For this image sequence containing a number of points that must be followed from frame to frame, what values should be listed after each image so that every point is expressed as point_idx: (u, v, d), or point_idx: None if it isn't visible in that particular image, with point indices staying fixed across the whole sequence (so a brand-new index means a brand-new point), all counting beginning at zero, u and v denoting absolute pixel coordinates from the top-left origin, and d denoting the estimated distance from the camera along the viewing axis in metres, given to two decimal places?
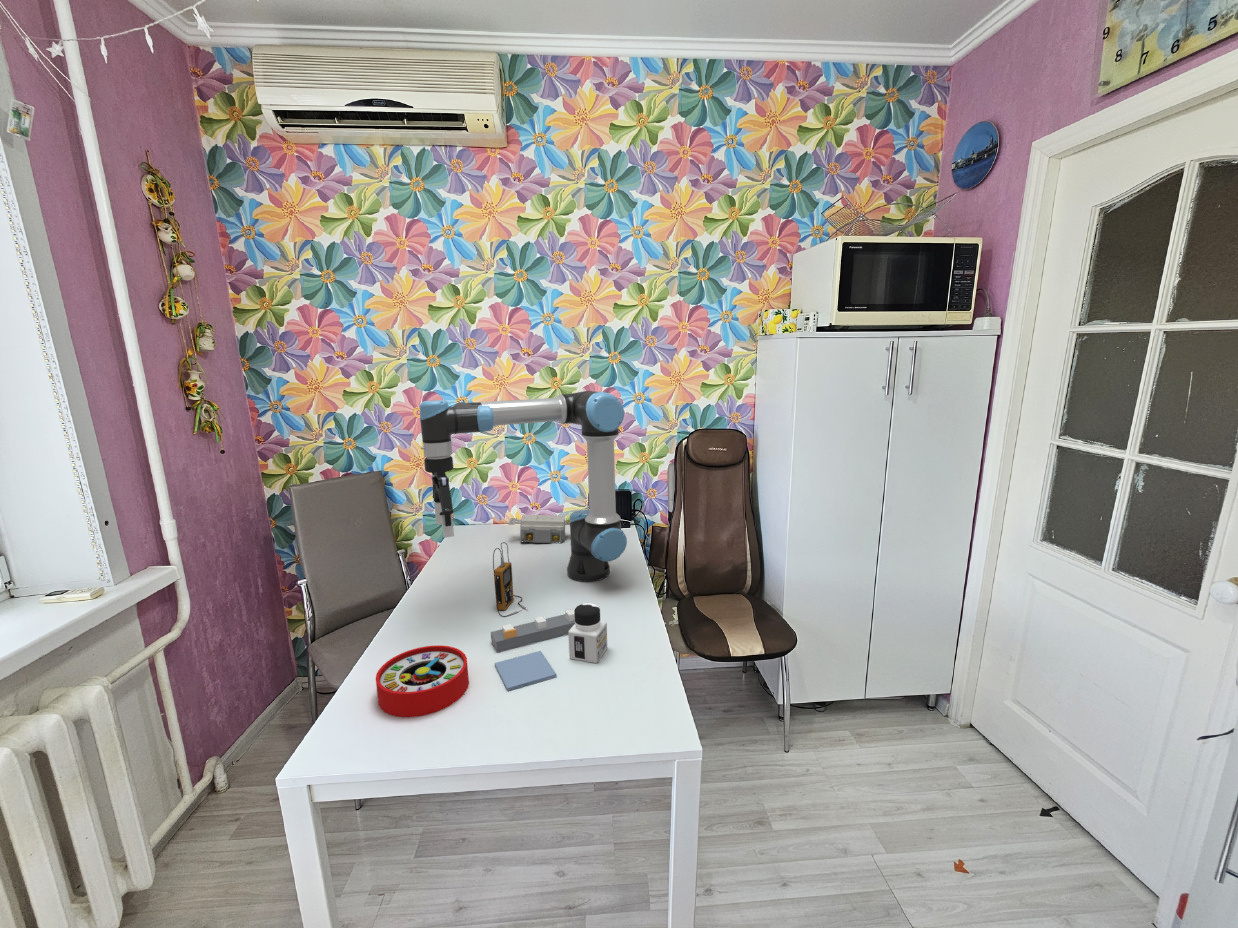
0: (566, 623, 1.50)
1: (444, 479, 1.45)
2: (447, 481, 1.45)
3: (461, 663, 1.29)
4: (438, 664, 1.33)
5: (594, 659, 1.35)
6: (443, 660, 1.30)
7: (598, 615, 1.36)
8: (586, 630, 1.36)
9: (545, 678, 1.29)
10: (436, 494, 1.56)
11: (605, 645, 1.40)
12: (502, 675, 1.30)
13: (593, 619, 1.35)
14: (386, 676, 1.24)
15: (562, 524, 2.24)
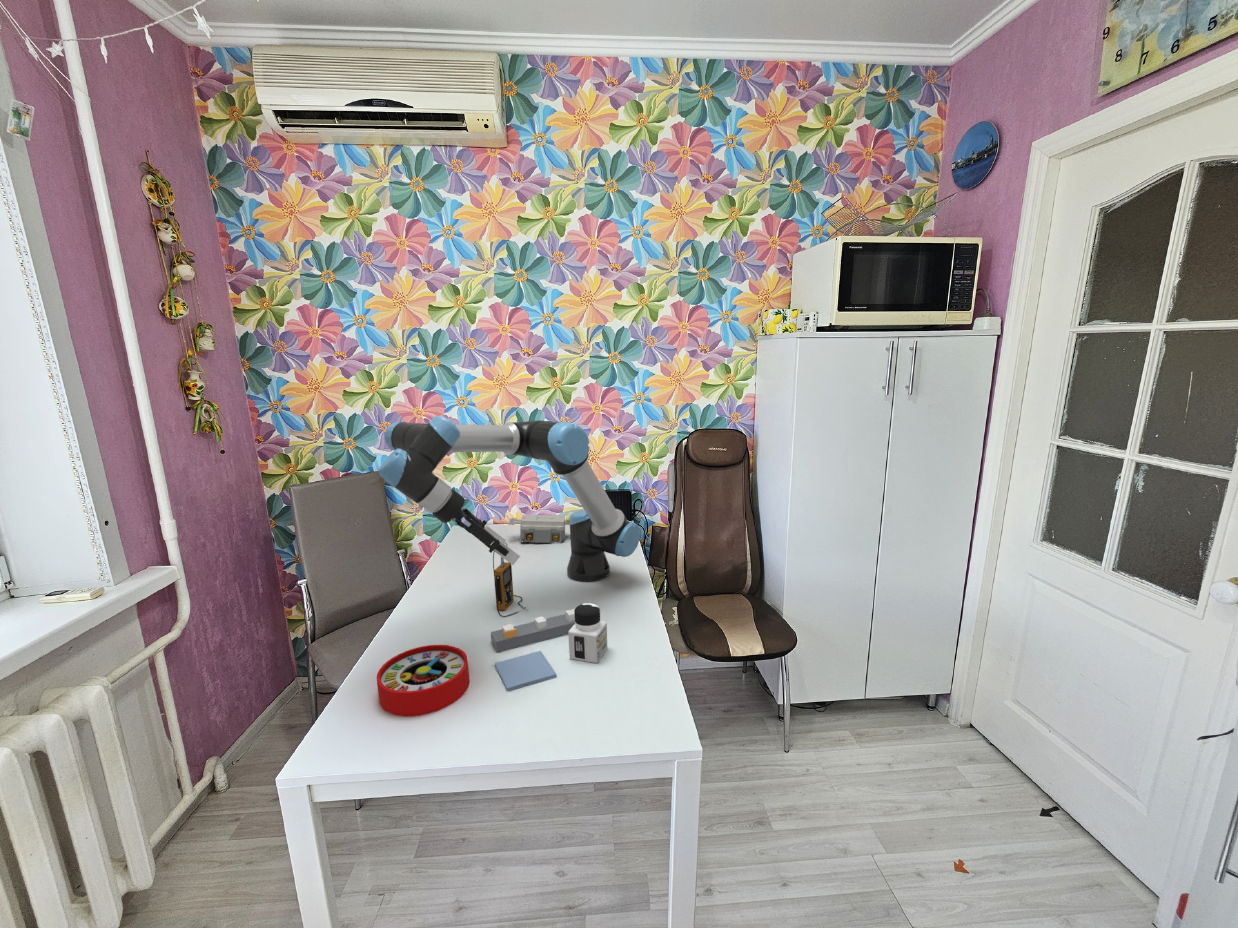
0: (566, 623, 1.50)
1: (465, 520, 1.23)
2: (469, 520, 1.23)
3: (462, 662, 1.29)
4: (439, 663, 1.34)
5: (594, 659, 1.35)
6: (444, 659, 1.31)
7: (598, 615, 1.36)
8: (586, 630, 1.36)
9: (545, 678, 1.29)
10: None
11: (605, 645, 1.40)
12: (502, 675, 1.30)
13: (593, 619, 1.35)
14: (387, 675, 1.24)
15: (562, 524, 2.24)
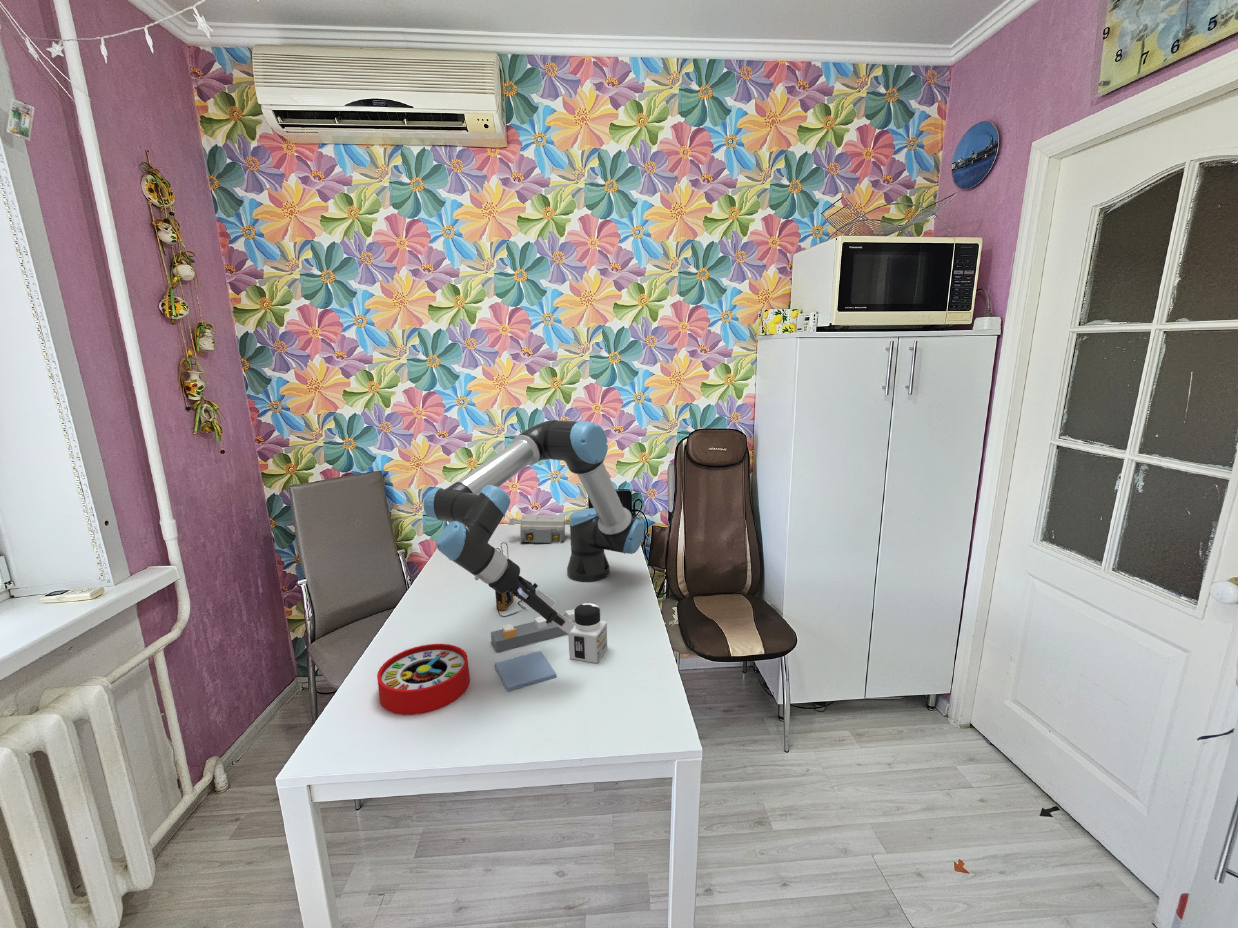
0: None
1: (522, 592, 1.21)
2: (526, 592, 1.21)
3: (462, 661, 1.30)
4: (439, 662, 1.34)
5: (594, 659, 1.35)
6: (444, 658, 1.31)
7: (598, 615, 1.36)
8: (586, 630, 1.36)
9: (545, 678, 1.29)
10: None
11: (605, 645, 1.40)
12: (502, 675, 1.30)
13: (593, 619, 1.35)
14: (387, 674, 1.25)
15: (562, 524, 2.24)
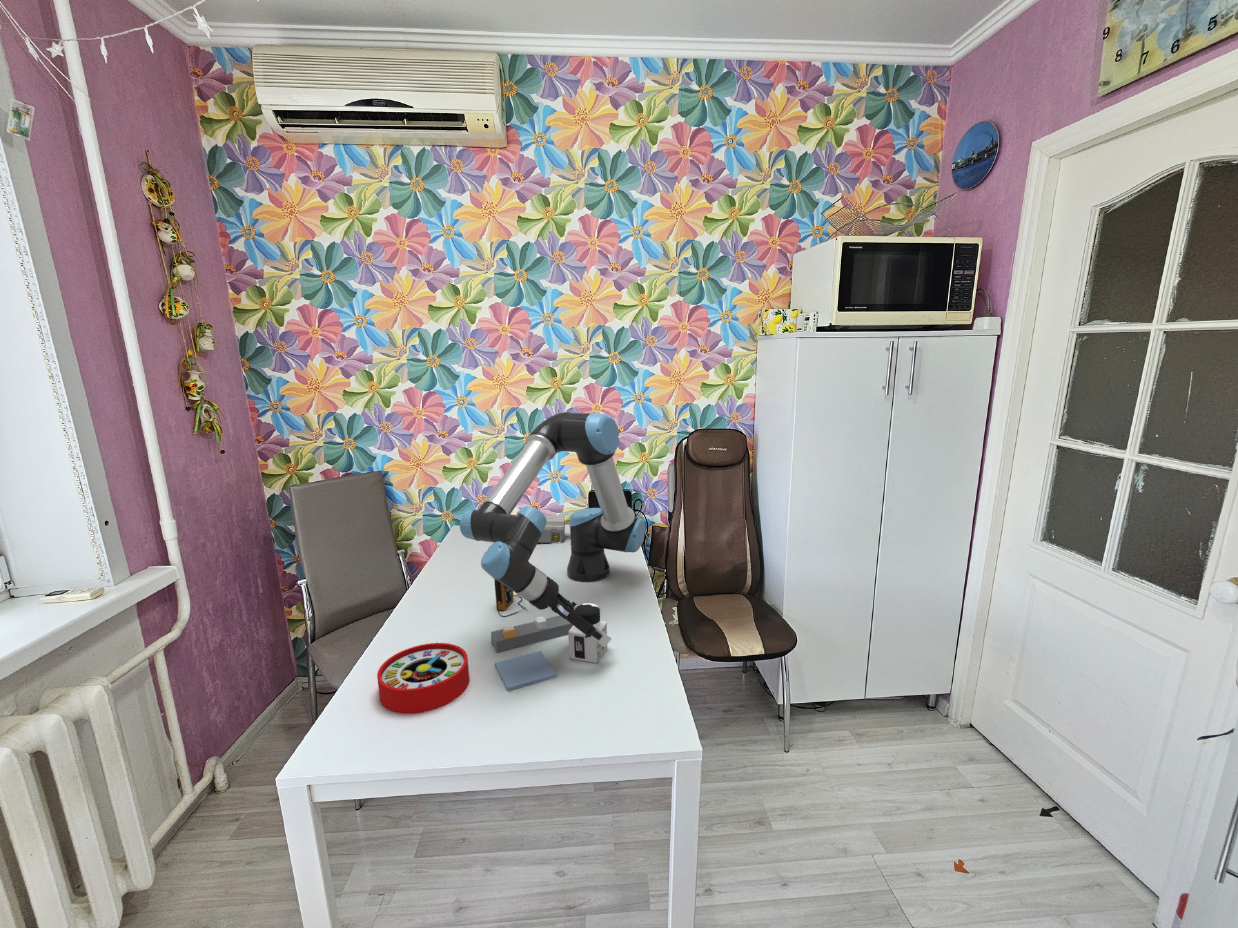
0: (566, 623, 1.50)
1: (564, 610, 1.27)
2: (568, 609, 1.27)
3: (462, 660, 1.30)
4: (439, 661, 1.35)
5: (594, 659, 1.35)
6: (444, 657, 1.32)
7: (598, 615, 1.36)
8: None
9: (545, 678, 1.29)
10: None
11: None
12: (502, 675, 1.30)
13: (593, 619, 1.35)
14: (387, 673, 1.25)
15: (562, 524, 2.24)
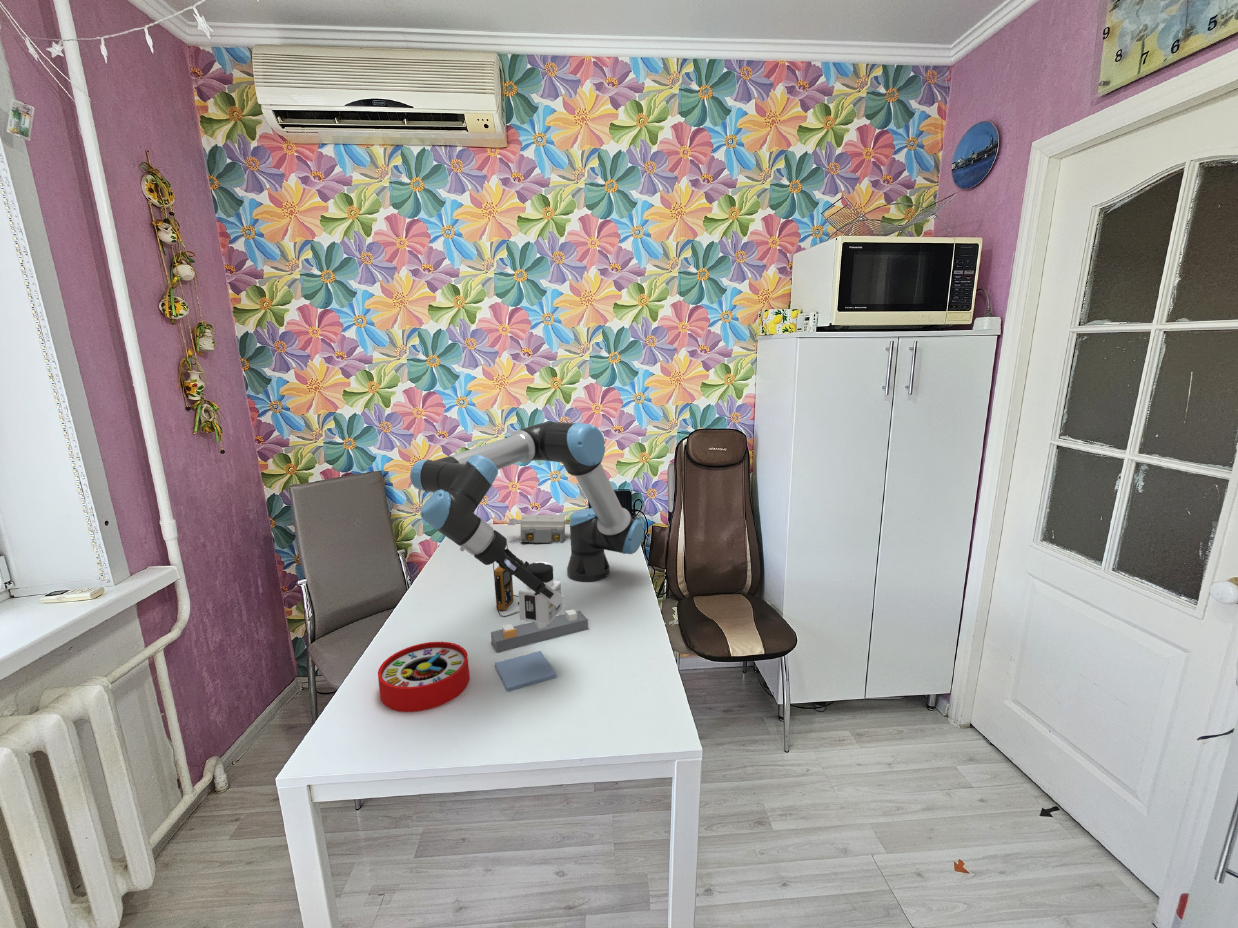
0: (566, 623, 1.50)
1: (511, 565, 1.19)
2: (515, 564, 1.19)
3: (462, 659, 1.31)
4: (439, 660, 1.35)
5: (546, 620, 1.27)
6: (444, 656, 1.32)
7: (550, 573, 1.28)
8: None
9: (545, 678, 1.29)
10: None
11: (559, 606, 1.32)
12: (502, 675, 1.30)
13: (544, 577, 1.27)
14: (388, 671, 1.26)
15: (562, 524, 2.25)
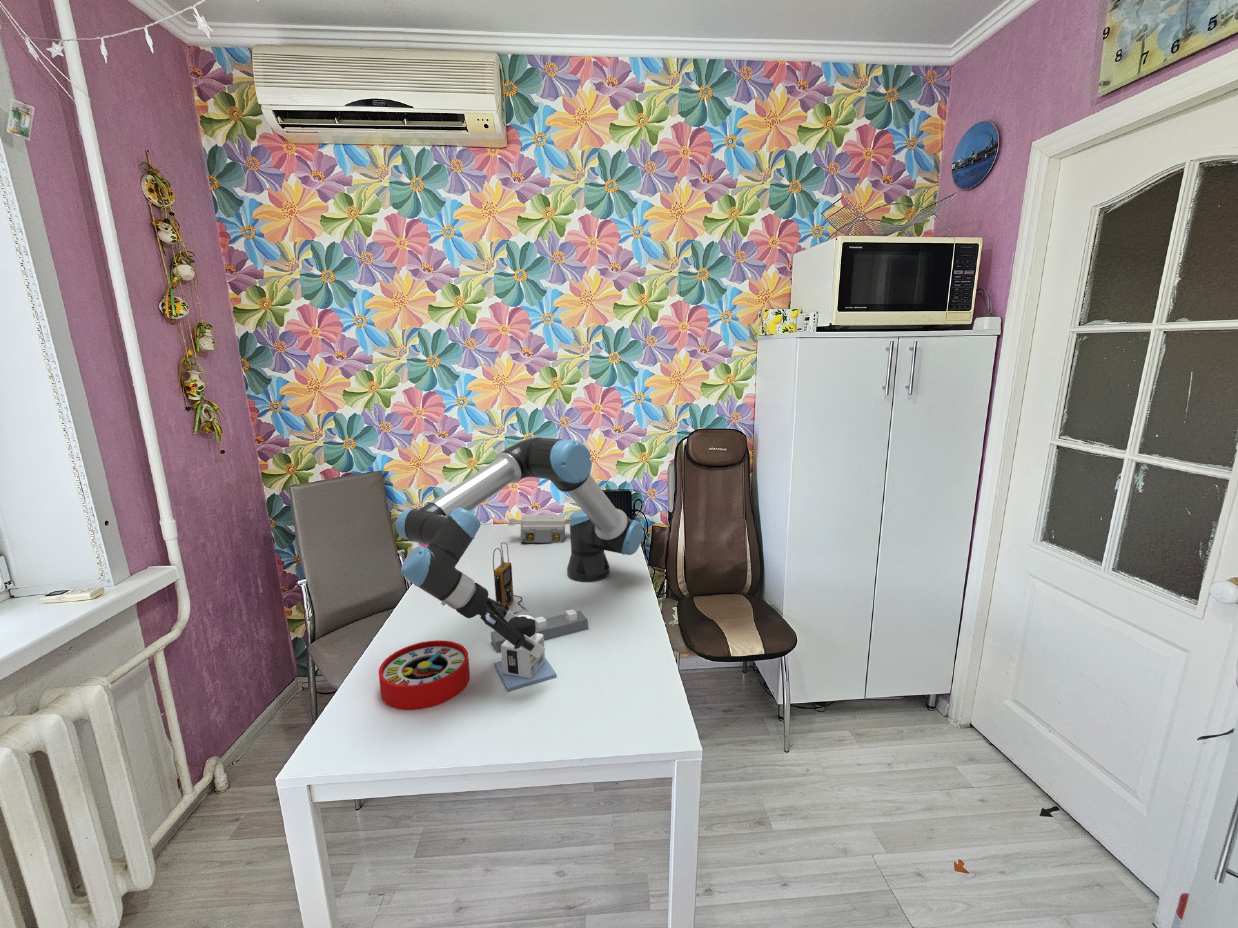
0: (566, 623, 1.50)
1: (490, 618, 1.19)
2: (494, 617, 1.19)
3: (462, 658, 1.31)
4: (440, 659, 1.36)
5: (528, 674, 1.28)
6: (445, 655, 1.33)
7: (532, 628, 1.29)
8: None
9: (545, 678, 1.29)
10: None
11: (542, 659, 1.33)
12: (502, 675, 1.30)
13: (526, 632, 1.28)
14: (389, 670, 1.26)
15: (563, 523, 2.25)
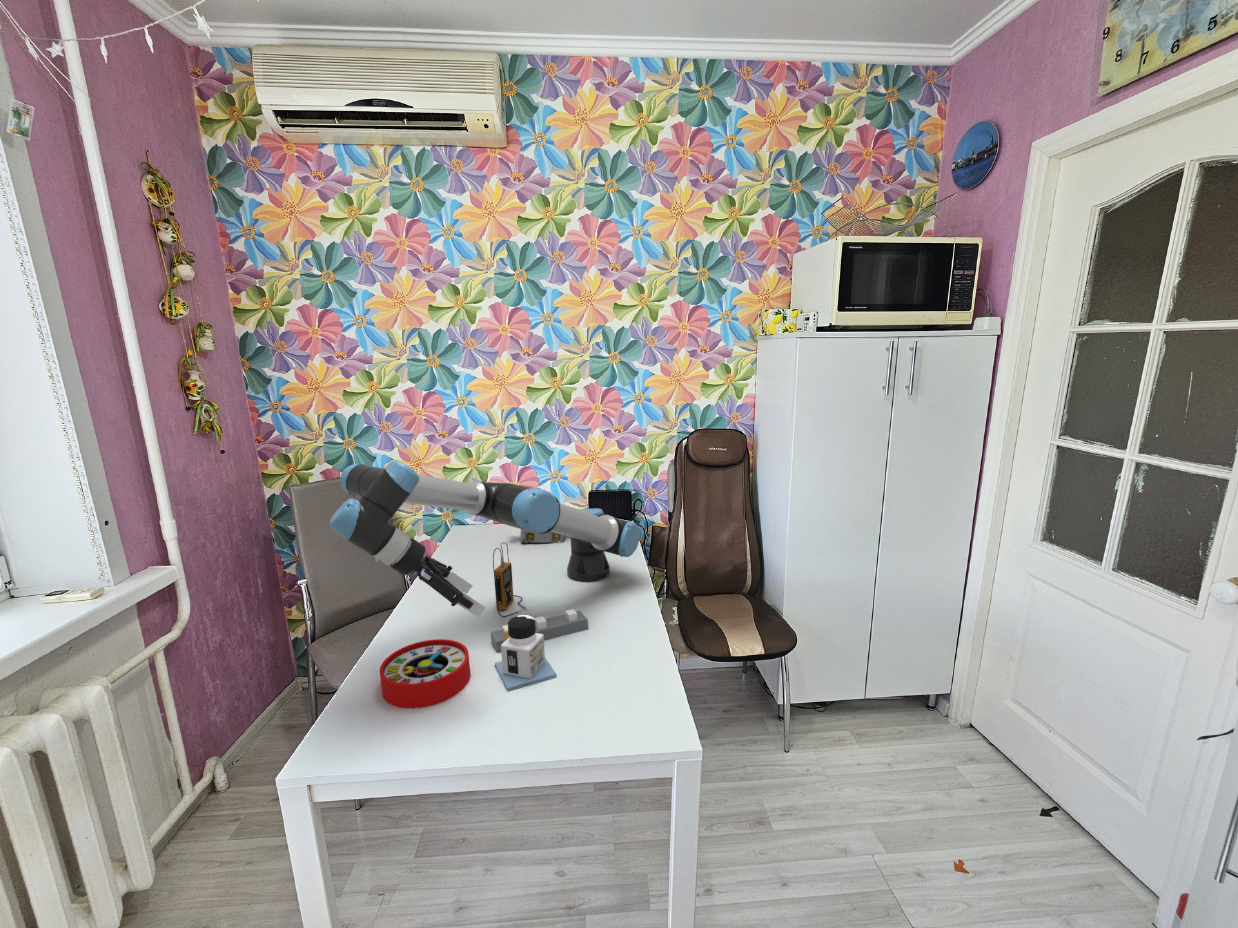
0: (566, 623, 1.50)
1: (424, 574, 1.15)
2: (429, 573, 1.15)
3: (463, 656, 1.32)
4: (440, 657, 1.36)
5: (528, 674, 1.28)
6: (445, 653, 1.33)
7: (532, 628, 1.29)
8: (519, 644, 1.28)
9: (545, 678, 1.29)
10: None
11: (542, 659, 1.33)
12: (502, 675, 1.30)
13: (526, 632, 1.28)
14: (390, 668, 1.27)
15: None
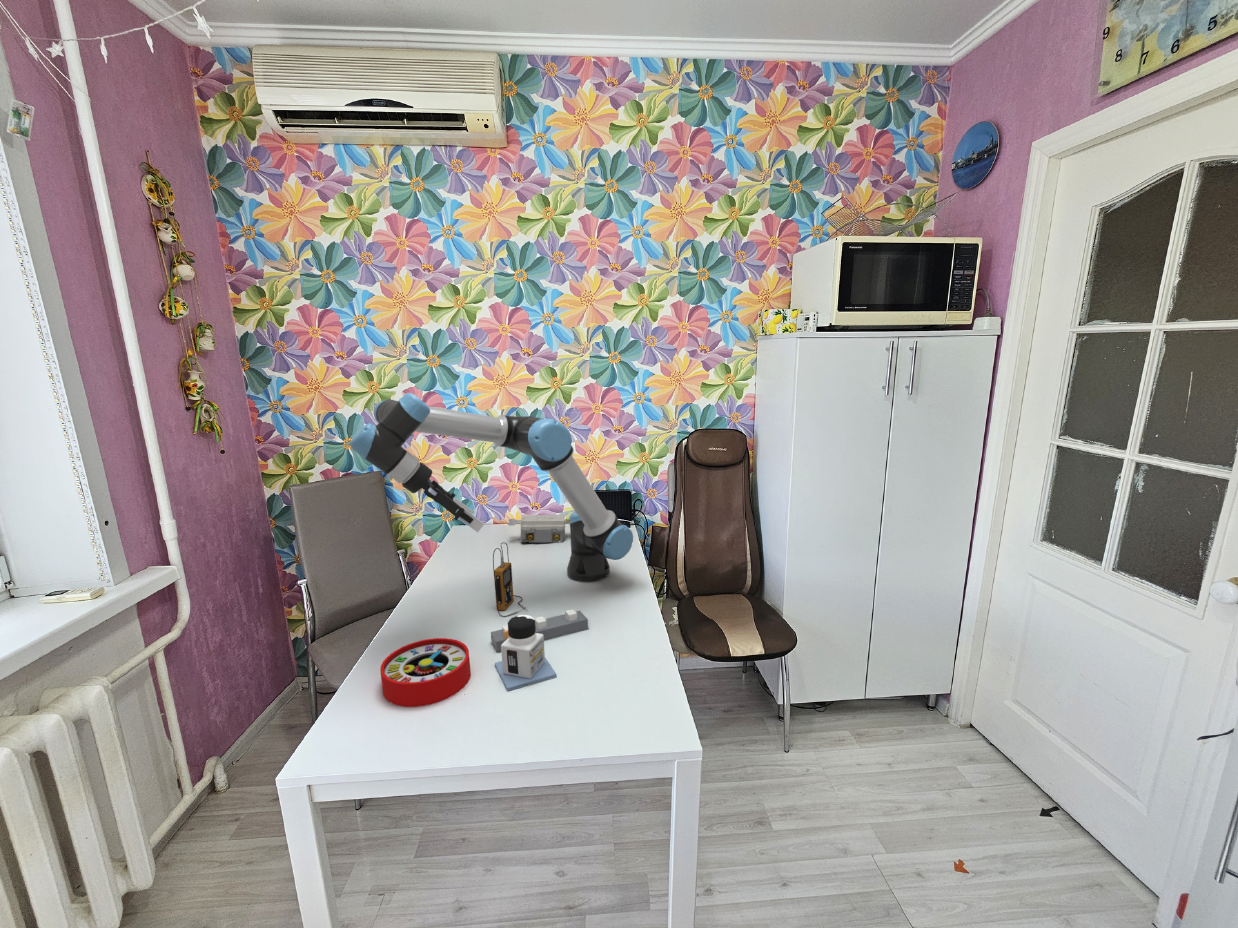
0: (566, 623, 1.50)
1: (431, 490, 1.33)
2: (435, 489, 1.33)
3: (463, 655, 1.32)
4: (441, 656, 1.37)
5: (528, 674, 1.28)
6: (446, 652, 1.34)
7: (532, 628, 1.29)
8: (519, 644, 1.28)
9: (545, 678, 1.29)
10: None
11: (542, 659, 1.33)
12: (502, 675, 1.30)
13: (526, 632, 1.28)
14: (390, 667, 1.27)
15: (563, 523, 2.25)
